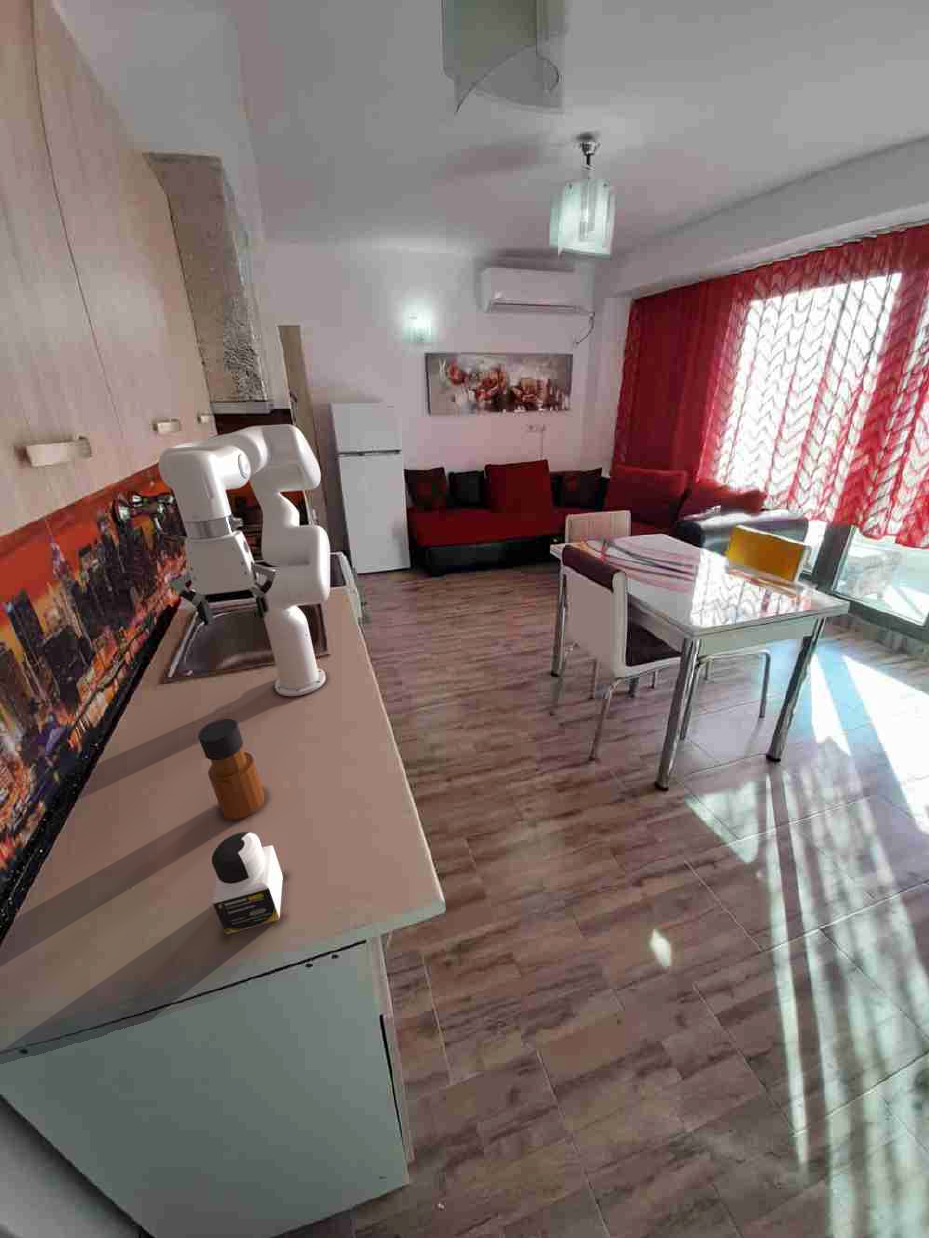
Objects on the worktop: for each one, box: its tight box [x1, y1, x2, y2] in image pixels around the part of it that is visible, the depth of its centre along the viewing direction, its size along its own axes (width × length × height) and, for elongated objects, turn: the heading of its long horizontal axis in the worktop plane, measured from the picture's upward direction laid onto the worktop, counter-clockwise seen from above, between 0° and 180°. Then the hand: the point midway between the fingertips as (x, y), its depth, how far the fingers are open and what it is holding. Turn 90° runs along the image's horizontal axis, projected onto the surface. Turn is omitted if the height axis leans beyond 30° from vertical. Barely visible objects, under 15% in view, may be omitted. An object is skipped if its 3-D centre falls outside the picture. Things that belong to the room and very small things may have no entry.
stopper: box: [197, 718, 244, 761], centre depth 81 cm, size 6×6×8 cm
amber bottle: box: [207, 746, 266, 820], centre depth 84 cm, size 7×7×13 cm
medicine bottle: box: [211, 831, 284, 935], centre depth 66 cm, size 7×7×12 cm
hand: (236, 618), depth 88 cm, fingers open, 9 cm apart
